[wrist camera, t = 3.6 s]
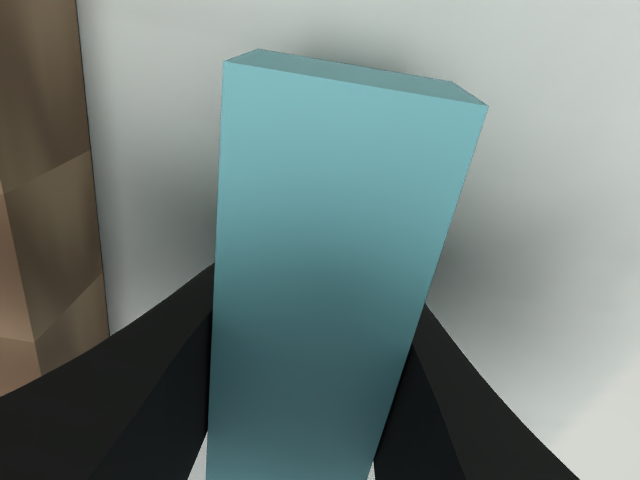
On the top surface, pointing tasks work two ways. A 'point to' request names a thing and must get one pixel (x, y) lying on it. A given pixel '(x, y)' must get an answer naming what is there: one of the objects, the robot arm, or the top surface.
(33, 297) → the brown wooden board
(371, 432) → the teal bridge block
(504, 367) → the top surface
